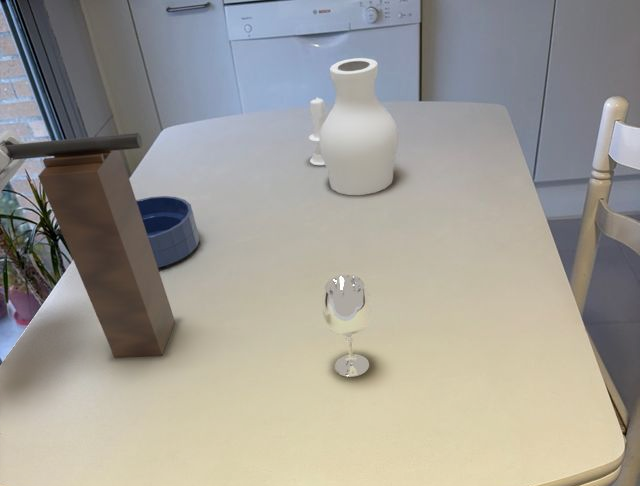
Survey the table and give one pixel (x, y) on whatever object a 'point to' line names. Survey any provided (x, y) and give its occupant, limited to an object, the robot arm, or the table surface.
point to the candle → (317, 128)
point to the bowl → (169, 228)
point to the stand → (110, 249)
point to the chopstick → (75, 146)
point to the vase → (358, 132)
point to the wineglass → (347, 318)
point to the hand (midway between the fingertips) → (11, 147)
